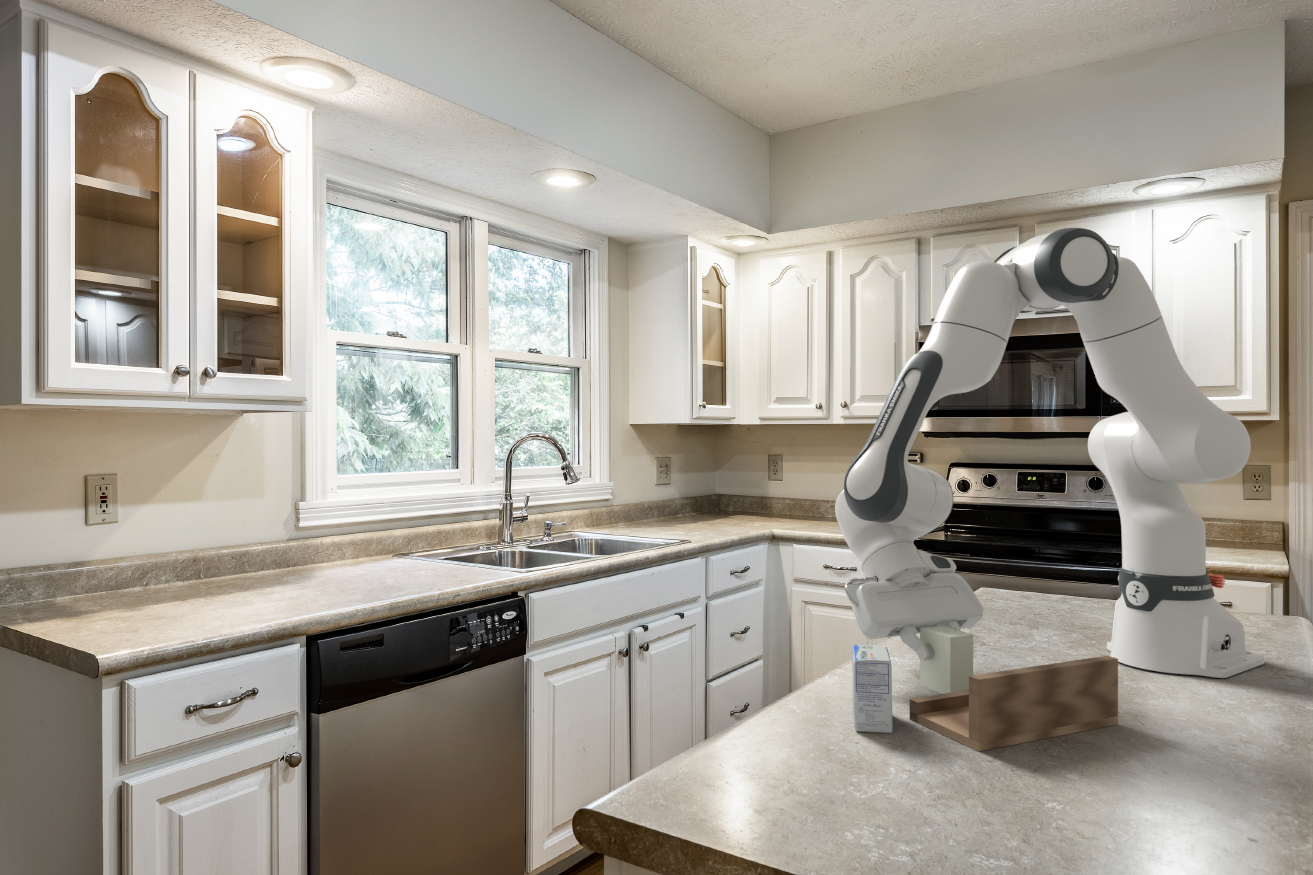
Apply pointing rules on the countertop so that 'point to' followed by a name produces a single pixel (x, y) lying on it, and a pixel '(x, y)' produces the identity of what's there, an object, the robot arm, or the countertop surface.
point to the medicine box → (872, 689)
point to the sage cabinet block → (947, 659)
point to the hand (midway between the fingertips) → (944, 656)
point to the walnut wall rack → (1025, 704)
